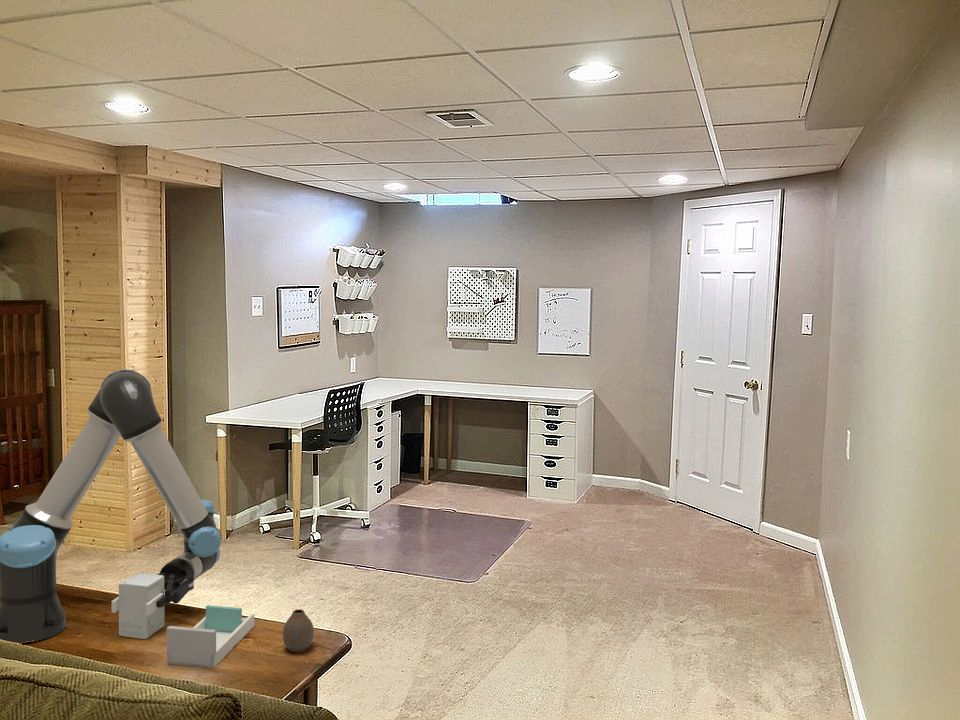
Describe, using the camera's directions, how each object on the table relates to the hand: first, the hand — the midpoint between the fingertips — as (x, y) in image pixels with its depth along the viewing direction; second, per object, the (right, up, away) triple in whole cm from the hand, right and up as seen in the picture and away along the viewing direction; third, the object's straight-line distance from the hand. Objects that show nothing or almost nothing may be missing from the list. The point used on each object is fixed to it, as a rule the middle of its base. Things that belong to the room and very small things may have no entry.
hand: (130, 608), depth 179 cm
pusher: (+19, -7, +6) cm, 21 cm away
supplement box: (0, -7, +6) cm, 9 cm away
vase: (+38, -9, 0) cm, 39 cm away
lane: (+19, -8, +1) cm, 20 cm away
